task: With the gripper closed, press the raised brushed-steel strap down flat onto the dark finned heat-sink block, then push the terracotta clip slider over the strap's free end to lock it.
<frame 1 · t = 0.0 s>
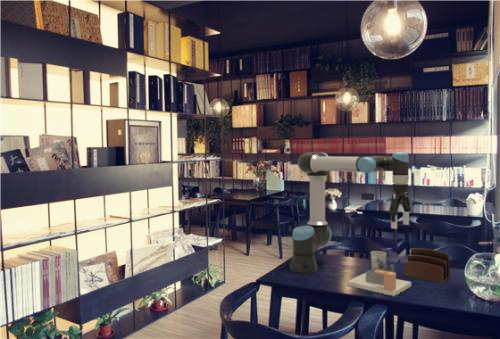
hand: (400, 226, 213), 28 cm above the table, fingers open, 13 cm apart
strap: (380, 262, 210), point 11 cm above the table, hinge at 30.0°
clip: (384, 280, 199), point 6 cm above the table, slide at 0.0 cm
cup: (378, 275, 226), on the table
letter holder: (426, 277, 222), on the table
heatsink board: (379, 285, 210), on the table
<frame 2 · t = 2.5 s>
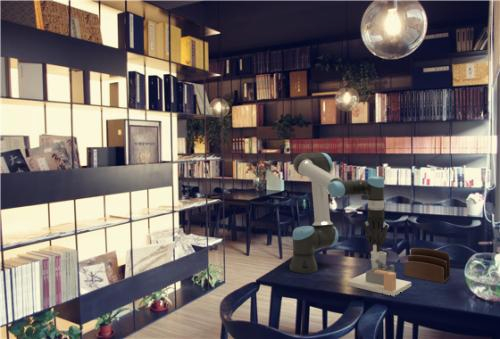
hand: (375, 258, 206), 14 cm above the table, fingers closed
strap: (380, 263, 210), point 11 cm above the table, hinge at 26.3°, touching gripper
everything else where it was.
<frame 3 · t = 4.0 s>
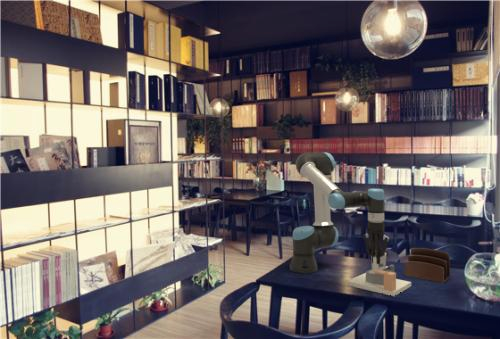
hand: (375, 270, 206), 9 cm above the table, fingers closed
strap: (379, 269, 209), point 8 cm above the table, hinge at 2.1°, touching gripper
everything else where it was.
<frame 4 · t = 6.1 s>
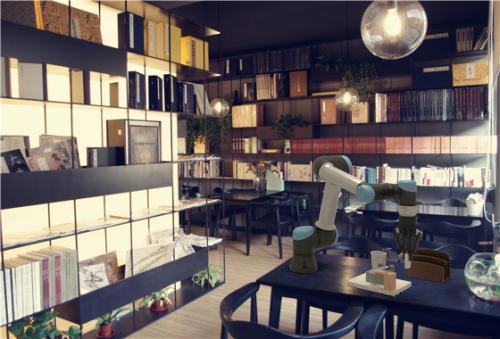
hand: (407, 267, 192), 14 cm above the table, fingers closed
strap: (379, 269, 209), point 8 cm above the table, hinge at 2.1°
everything else where it was.
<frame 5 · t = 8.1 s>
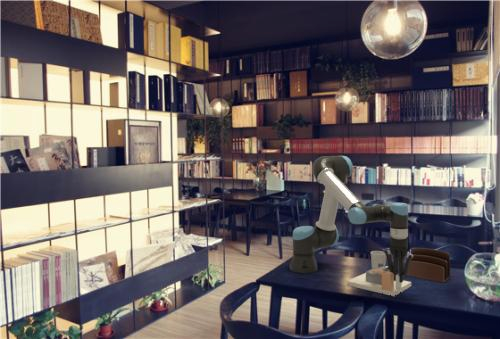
hand: (398, 288, 195), 3 cm above the table, fingers closed
clip: (382, 279, 200), point 6 cm above the table, slide at 1.0 cm, touching gripper
everything else where it was.
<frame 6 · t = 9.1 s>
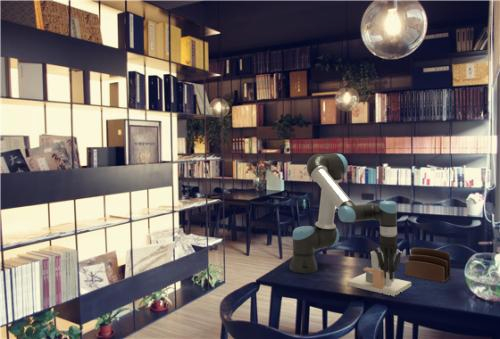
hand: (388, 286, 198), 3 cm above the table, fingers closed
strap: (379, 269, 209), point 8 cm above the table, hinge at 2.1°, touching clip
clip: (373, 277, 203), point 6 cm above the table, slide at 5.5 cm, touching gripper, strap
everything else where it was.
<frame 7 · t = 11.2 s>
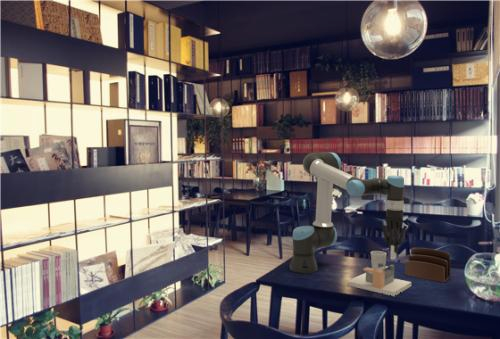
hand: (393, 258, 202), 15 cm above the table, fingers closed
clip: (373, 277, 203), point 6 cm above the table, slide at 5.5 cm, touching strap
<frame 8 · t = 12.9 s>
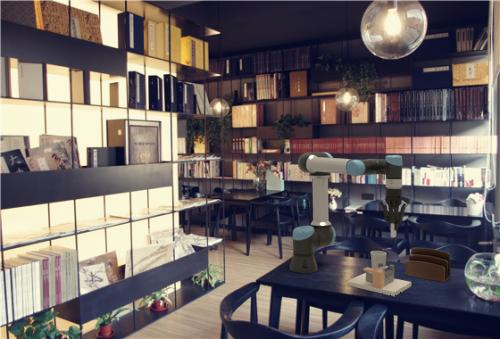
hand: (393, 236, 206), 24 cm above the table, fingers closed
at the end: strap at +2° (first picture: +30°); clip slide at 5.5 cm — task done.
